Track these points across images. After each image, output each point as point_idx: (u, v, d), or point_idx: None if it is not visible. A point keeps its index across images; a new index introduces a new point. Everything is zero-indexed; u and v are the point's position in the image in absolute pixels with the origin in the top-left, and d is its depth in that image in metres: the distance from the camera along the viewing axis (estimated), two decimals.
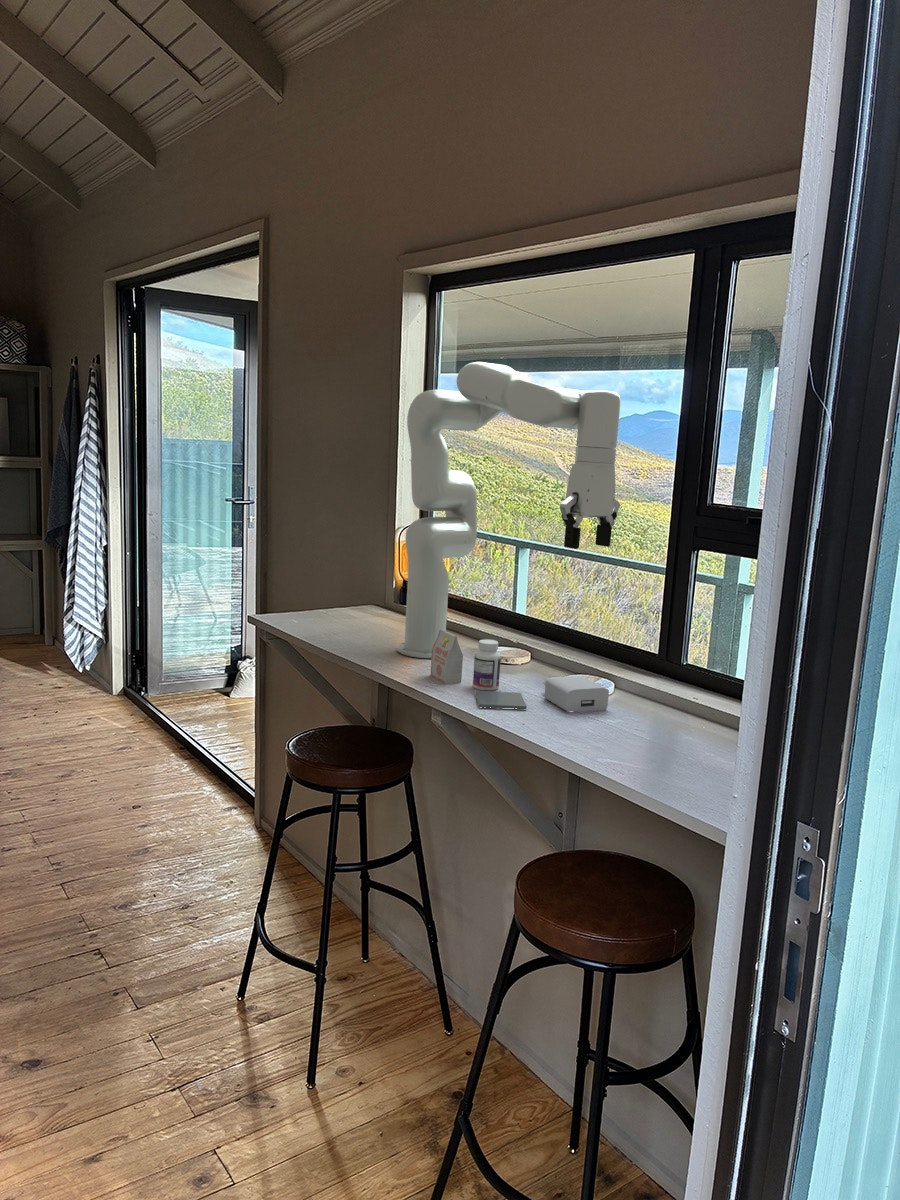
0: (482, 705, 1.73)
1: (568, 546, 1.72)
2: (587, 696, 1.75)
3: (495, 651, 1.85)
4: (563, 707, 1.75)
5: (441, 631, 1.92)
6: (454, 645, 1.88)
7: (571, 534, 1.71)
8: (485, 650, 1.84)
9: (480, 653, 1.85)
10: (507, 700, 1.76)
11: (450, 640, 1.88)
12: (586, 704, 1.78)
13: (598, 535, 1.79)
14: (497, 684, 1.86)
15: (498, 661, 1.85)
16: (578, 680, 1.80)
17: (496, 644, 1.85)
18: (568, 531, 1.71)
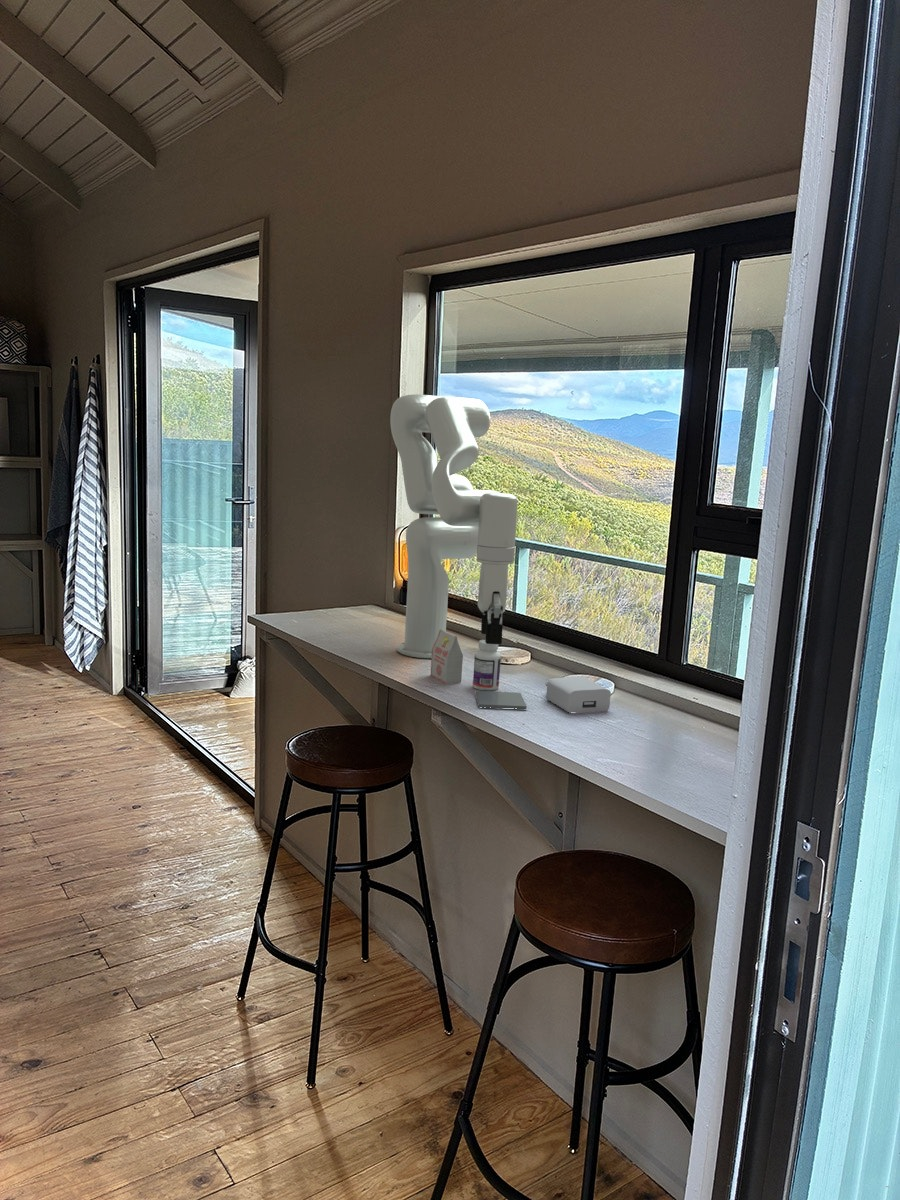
0: (482, 705, 1.73)
1: (491, 642, 1.80)
2: (589, 697, 1.75)
3: (495, 651, 1.85)
4: (565, 708, 1.74)
5: (441, 631, 1.92)
6: (454, 645, 1.88)
7: (497, 631, 1.79)
8: (485, 650, 1.84)
9: (480, 653, 1.85)
10: (507, 700, 1.76)
11: (450, 640, 1.88)
12: (588, 705, 1.77)
13: (485, 625, 1.89)
14: (497, 684, 1.86)
15: (498, 661, 1.85)
16: (580, 681, 1.80)
17: (496, 644, 1.85)
18: (493, 629, 1.79)
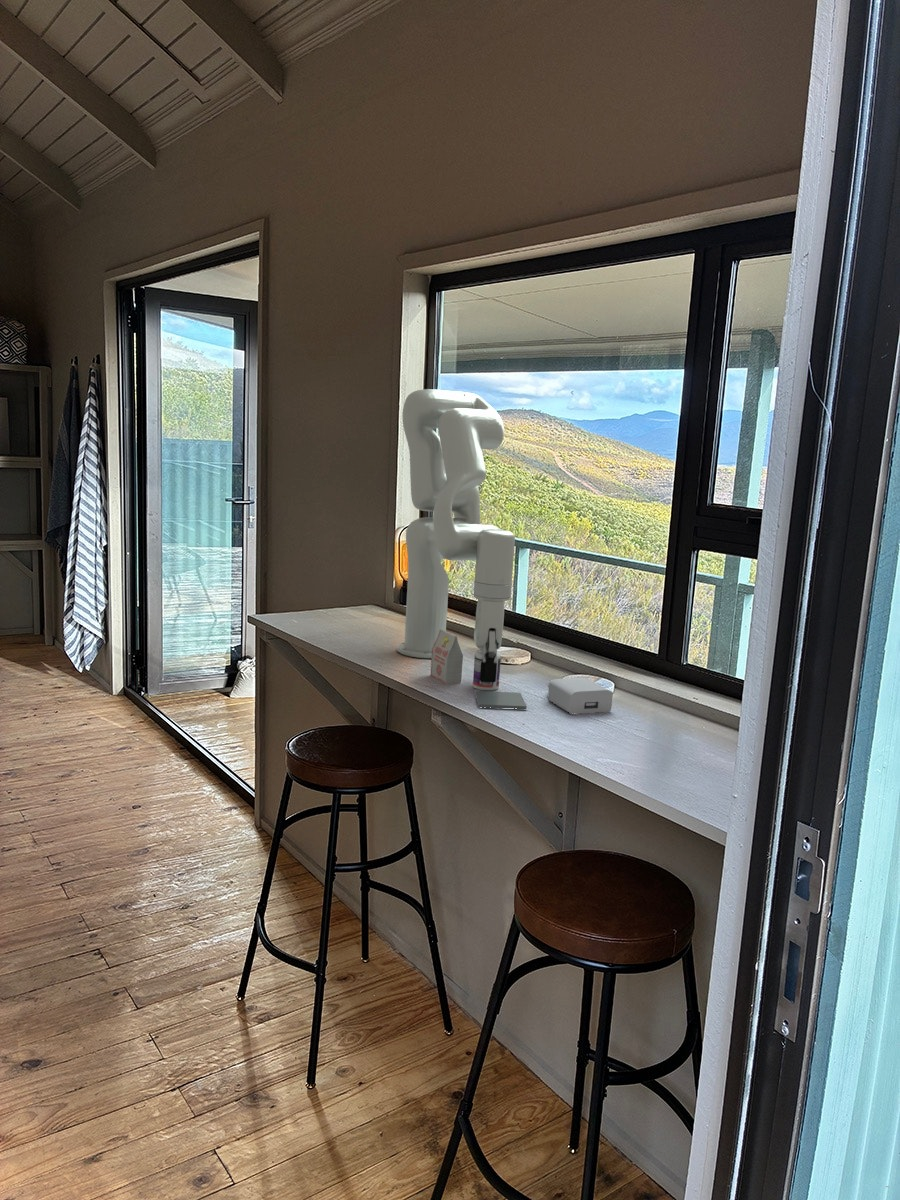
0: (482, 705, 1.73)
1: (485, 680, 1.84)
2: (591, 698, 1.74)
3: None
4: (566, 709, 1.74)
5: (441, 631, 1.92)
6: (454, 645, 1.88)
7: (491, 670, 1.83)
8: None
9: (480, 653, 1.85)
10: (507, 700, 1.76)
11: (450, 640, 1.88)
12: (590, 706, 1.76)
13: None
14: (497, 684, 1.86)
15: (498, 661, 1.85)
16: (582, 682, 1.79)
17: None
18: (487, 667, 1.83)
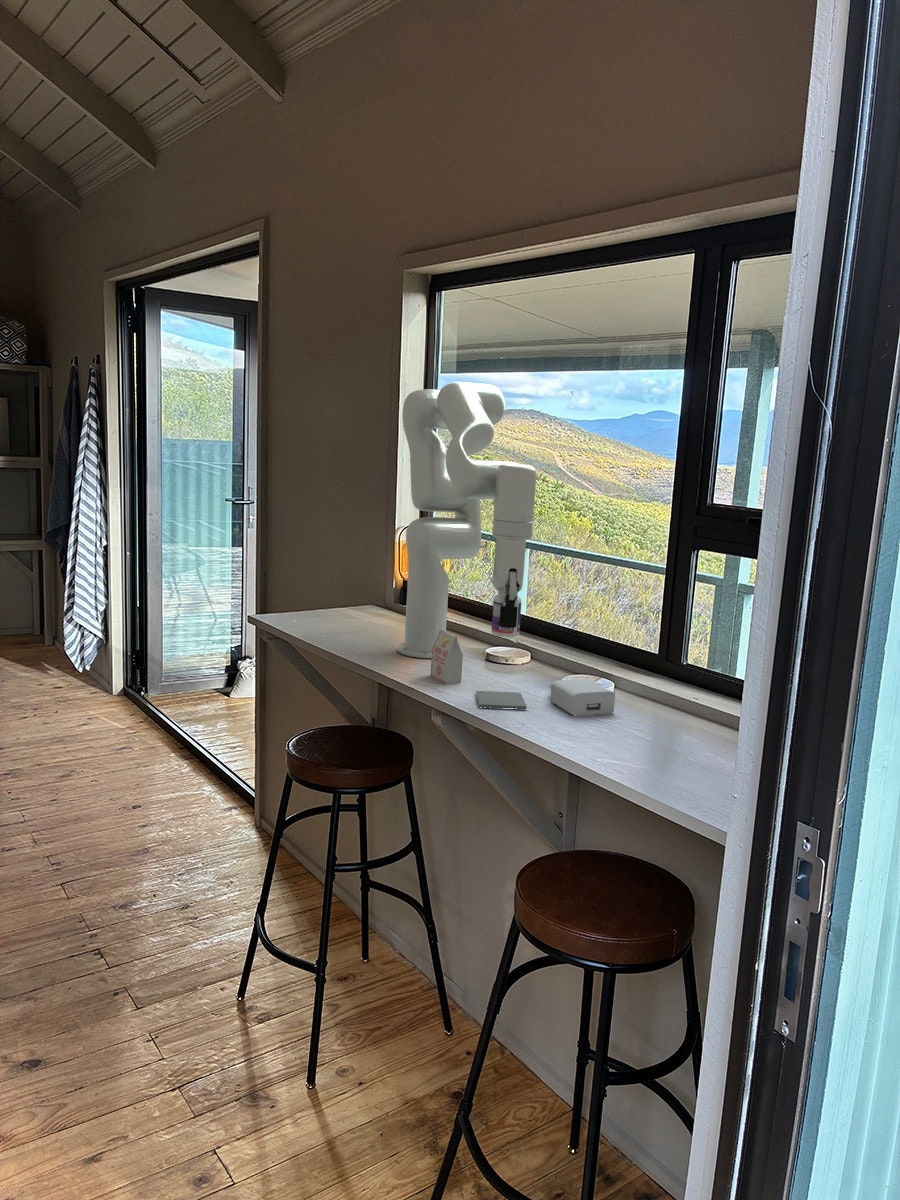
0: (482, 705, 1.73)
1: (505, 625, 1.72)
2: (593, 699, 1.73)
3: None
4: (569, 711, 1.73)
5: (441, 631, 1.92)
6: (454, 645, 1.88)
7: (511, 614, 1.71)
8: None
9: (500, 597, 1.73)
10: (507, 700, 1.76)
11: (450, 640, 1.88)
12: (592, 708, 1.75)
13: None
14: (518, 630, 1.74)
15: (519, 605, 1.73)
16: (584, 683, 1.78)
17: None
18: (507, 611, 1.71)
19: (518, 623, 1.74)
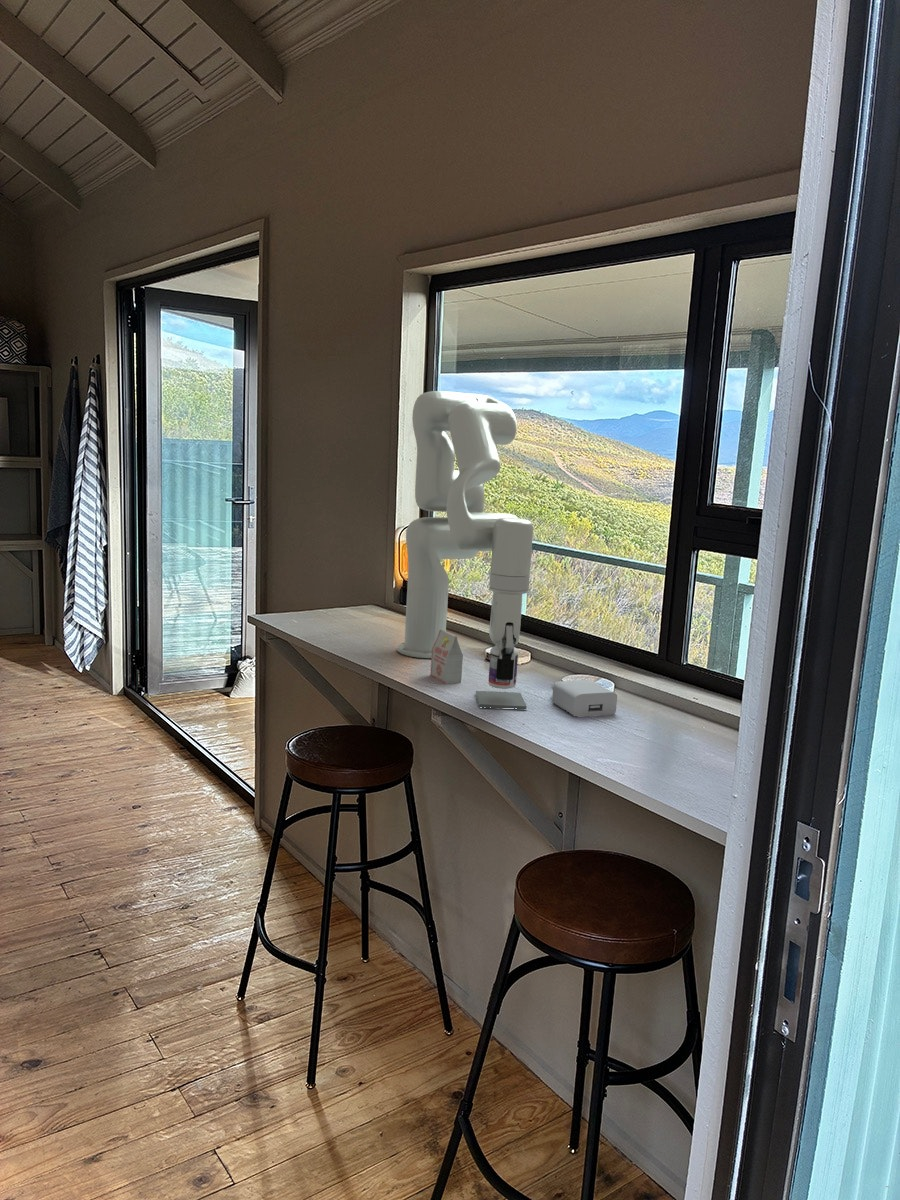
0: (482, 705, 1.73)
1: (501, 678, 1.73)
2: (595, 700, 1.72)
3: None
4: (570, 712, 1.72)
5: (441, 631, 1.92)
6: (454, 645, 1.88)
7: (508, 667, 1.72)
8: None
9: (497, 649, 1.74)
10: (507, 700, 1.76)
11: (450, 640, 1.88)
12: (594, 709, 1.75)
13: None
14: (514, 682, 1.76)
15: (515, 657, 1.75)
16: (586, 684, 1.78)
17: None
18: (504, 664, 1.72)
19: (515, 675, 1.76)
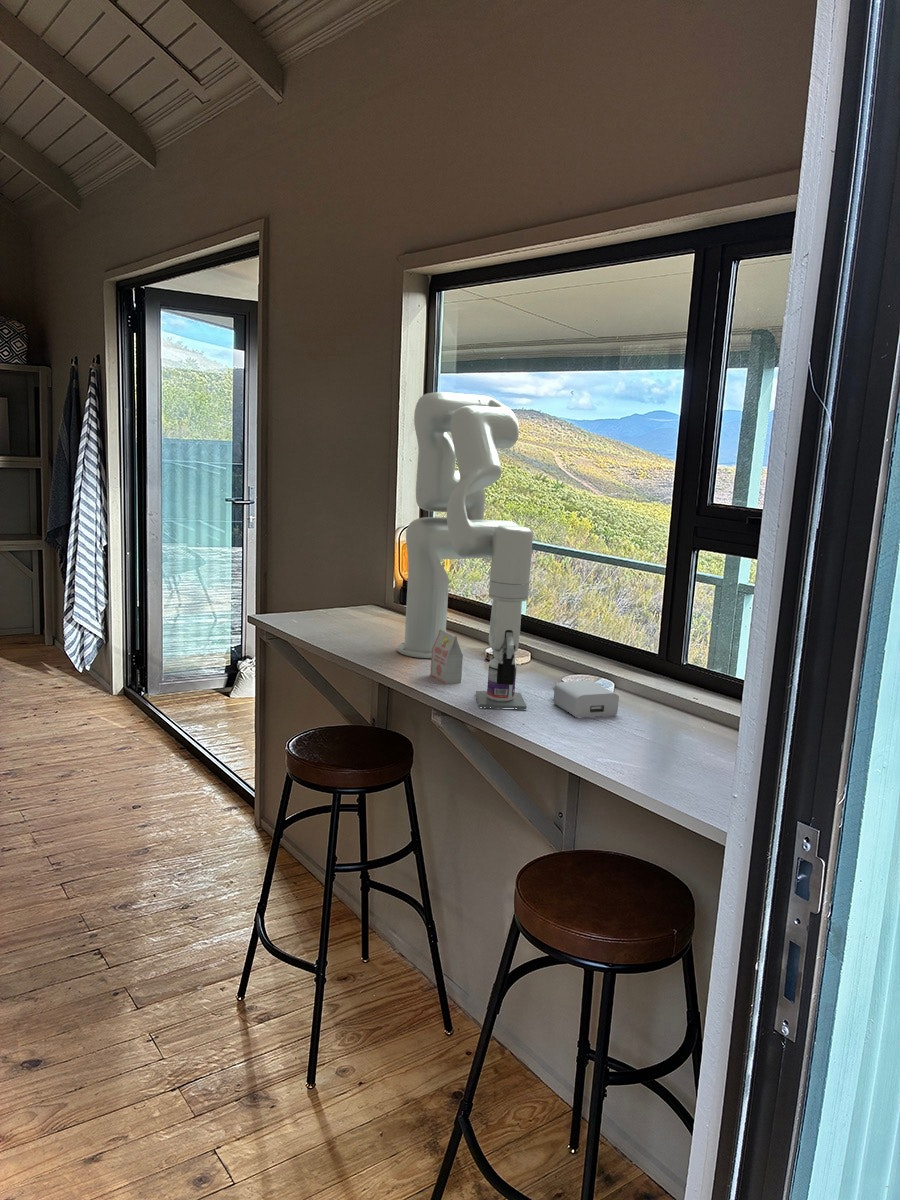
0: (482, 705, 1.73)
1: (502, 683, 1.72)
2: (596, 701, 1.72)
3: None
4: (572, 713, 1.72)
5: (441, 631, 1.92)
6: (454, 645, 1.88)
7: (509, 672, 1.71)
8: None
9: (495, 662, 1.75)
10: None
11: (450, 640, 1.88)
12: (595, 710, 1.74)
13: None
14: (513, 694, 1.77)
15: None
16: (588, 685, 1.77)
17: None
18: (505, 669, 1.71)
19: (513, 687, 1.76)
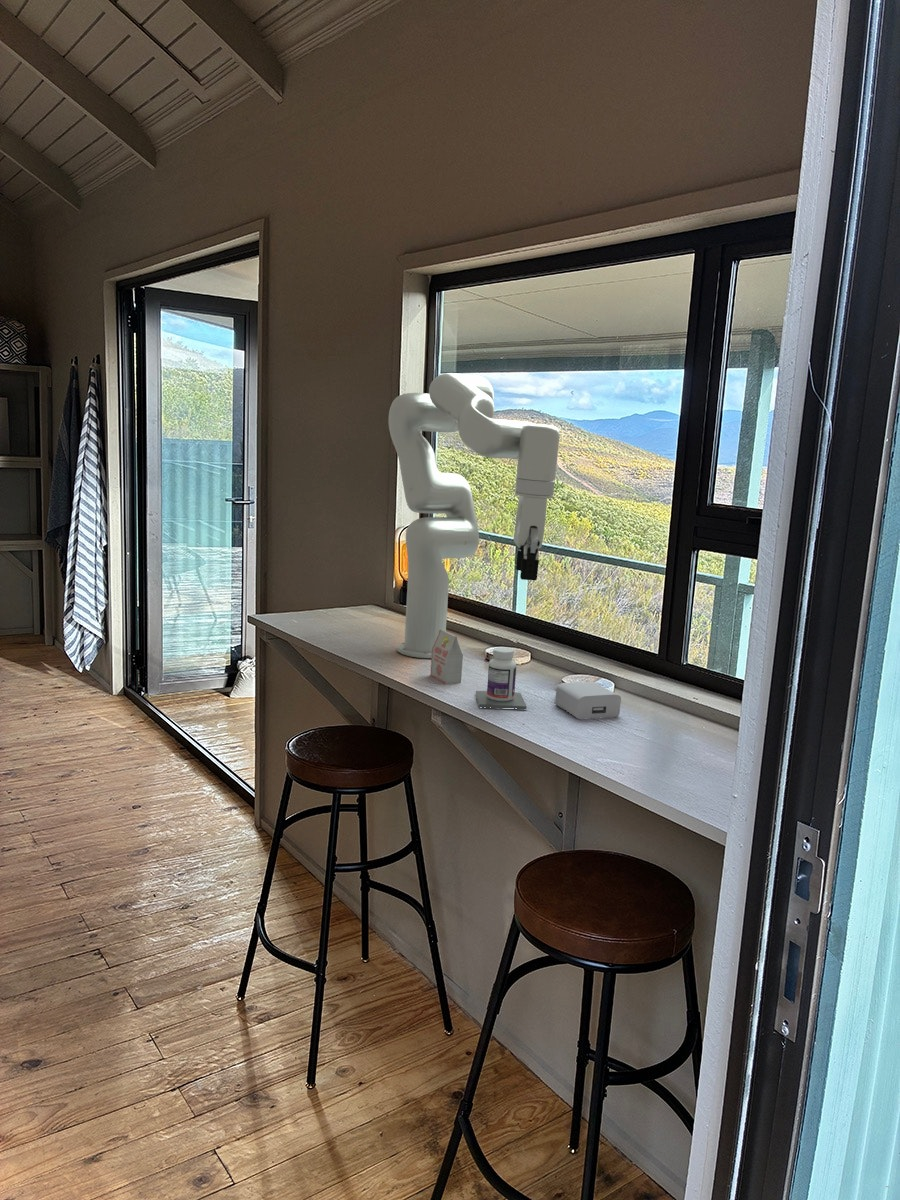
0: (482, 705, 1.73)
1: (526, 578, 1.76)
2: (598, 702, 1.71)
3: (510, 660, 1.76)
4: (574, 714, 1.71)
5: (441, 631, 1.92)
6: (454, 645, 1.88)
7: (532, 567, 1.74)
8: (500, 658, 1.75)
9: (495, 662, 1.75)
10: None
11: (450, 640, 1.88)
12: (597, 711, 1.74)
13: (520, 561, 1.85)
14: (512, 694, 1.77)
15: (514, 670, 1.75)
16: (590, 686, 1.77)
17: (512, 652, 1.75)
18: (528, 564, 1.74)
19: (513, 687, 1.76)
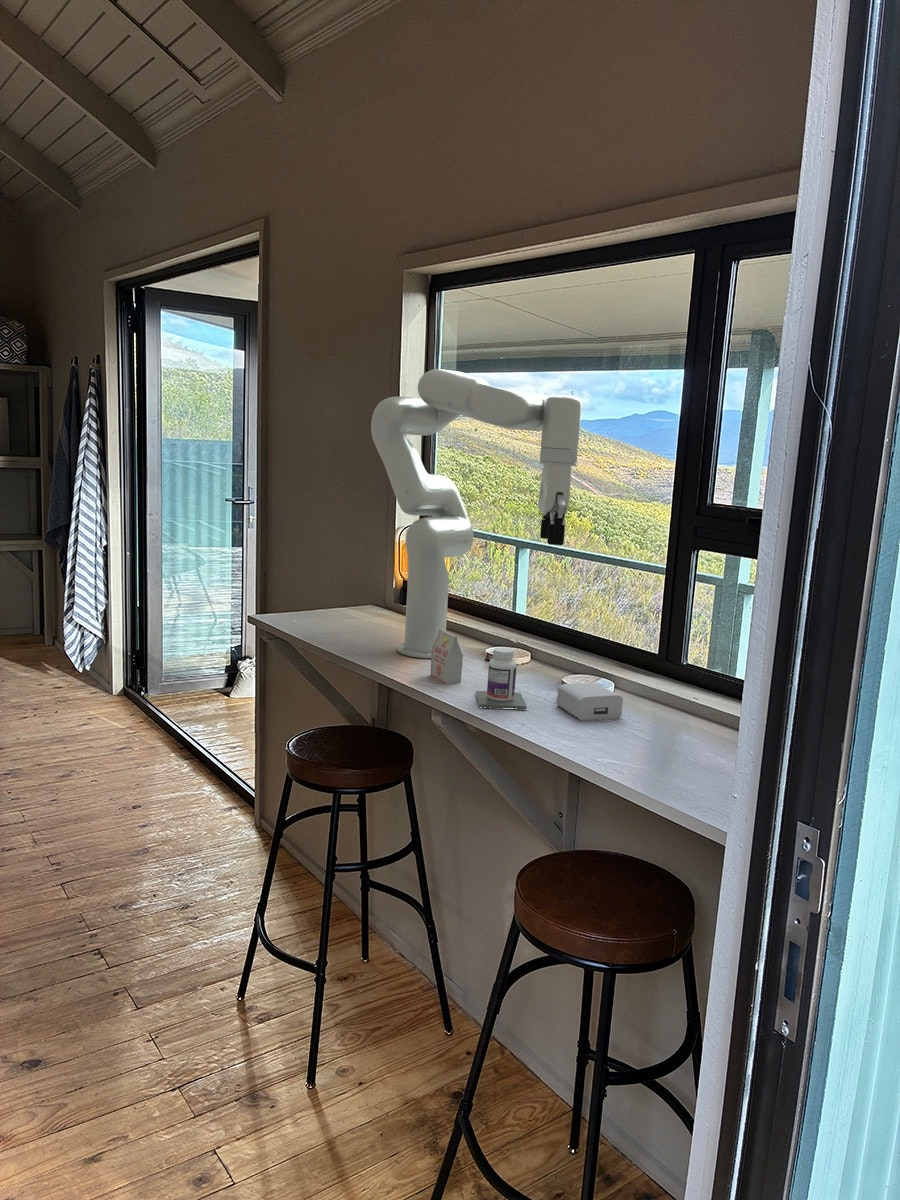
0: (482, 705, 1.73)
1: (553, 543, 1.83)
2: (600, 703, 1.71)
3: (511, 660, 1.76)
4: (575, 715, 1.71)
5: (441, 631, 1.92)
6: (454, 645, 1.88)
7: (559, 532, 1.81)
8: (500, 658, 1.75)
9: (495, 662, 1.75)
10: None
11: (450, 640, 1.88)
12: (599, 712, 1.73)
13: (544, 529, 1.92)
14: (513, 694, 1.77)
15: (514, 670, 1.75)
16: (592, 687, 1.76)
17: (512, 652, 1.75)
18: (555, 529, 1.81)
19: (513, 687, 1.76)
